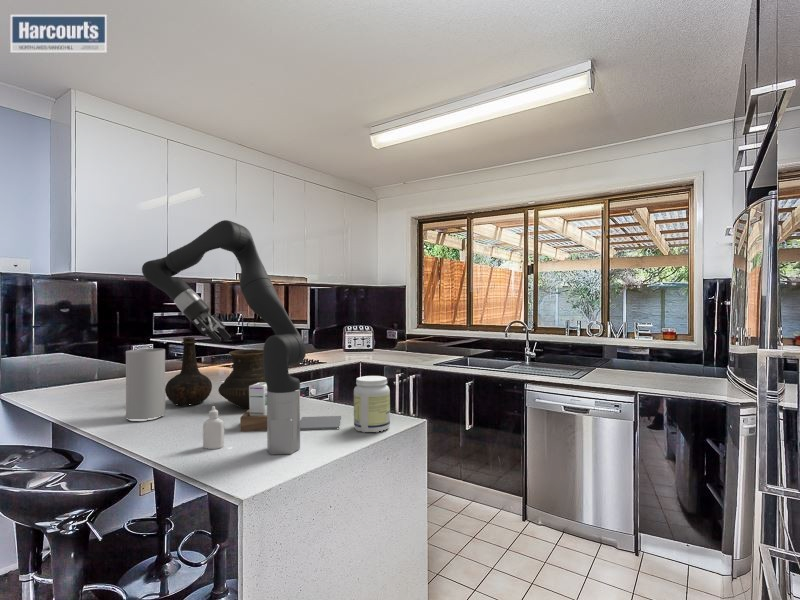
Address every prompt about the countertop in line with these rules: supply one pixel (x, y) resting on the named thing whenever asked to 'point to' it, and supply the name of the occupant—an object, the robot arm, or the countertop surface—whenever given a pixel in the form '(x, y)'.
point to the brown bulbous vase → (188, 379)
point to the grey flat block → (320, 422)
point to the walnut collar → (252, 422)
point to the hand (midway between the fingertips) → (224, 340)
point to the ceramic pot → (243, 376)
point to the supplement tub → (371, 404)
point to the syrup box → (258, 399)
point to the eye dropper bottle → (213, 431)
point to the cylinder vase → (145, 383)
